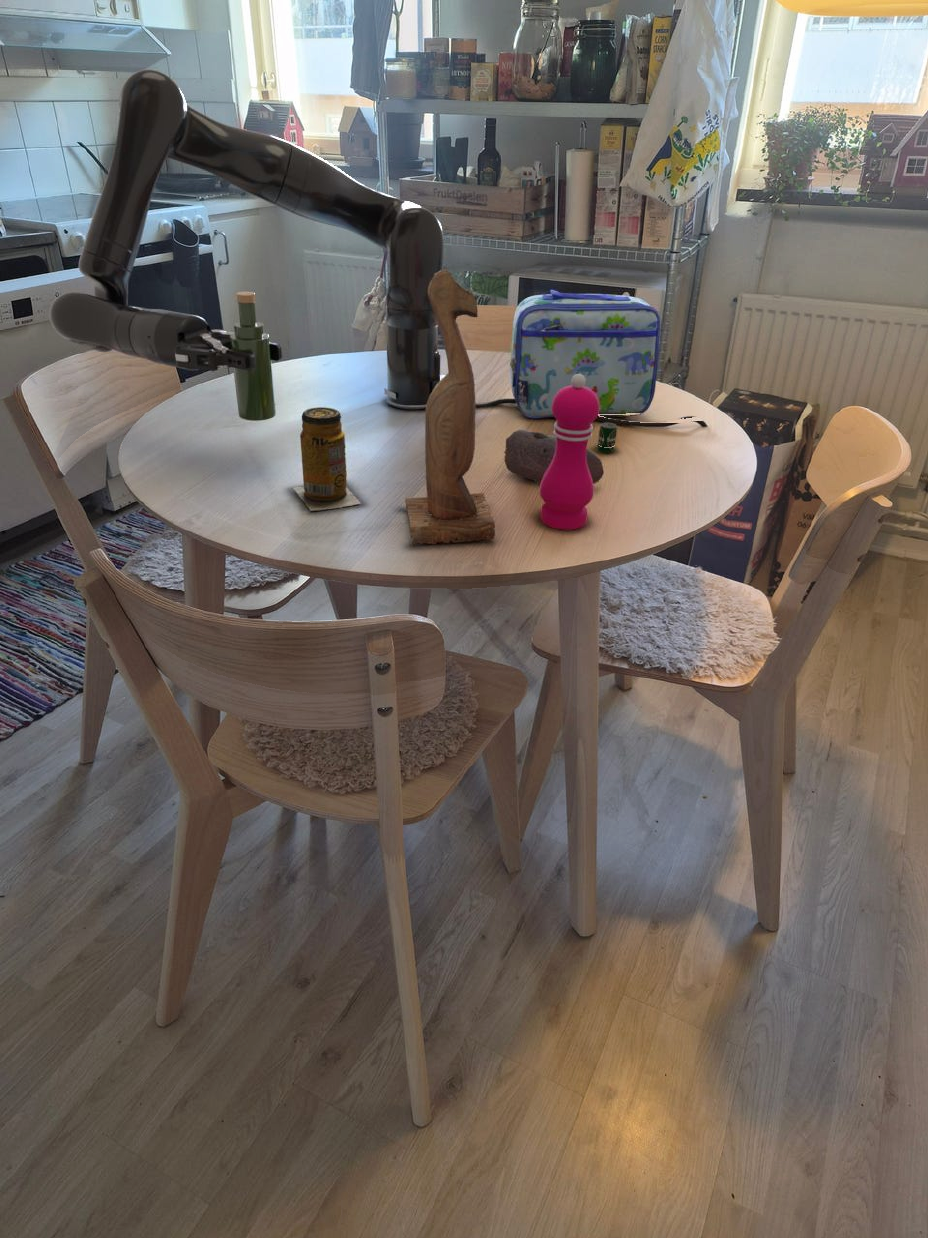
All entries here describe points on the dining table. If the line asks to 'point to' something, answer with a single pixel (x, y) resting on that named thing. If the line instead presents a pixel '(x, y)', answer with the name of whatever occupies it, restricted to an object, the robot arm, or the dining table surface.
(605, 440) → the beer can
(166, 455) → the dining table surface
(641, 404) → the lunch box
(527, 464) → the perforated stone tool
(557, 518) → the pepper mill
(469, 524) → the bird sculpture
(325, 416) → the condiment
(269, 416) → the oil bottle
